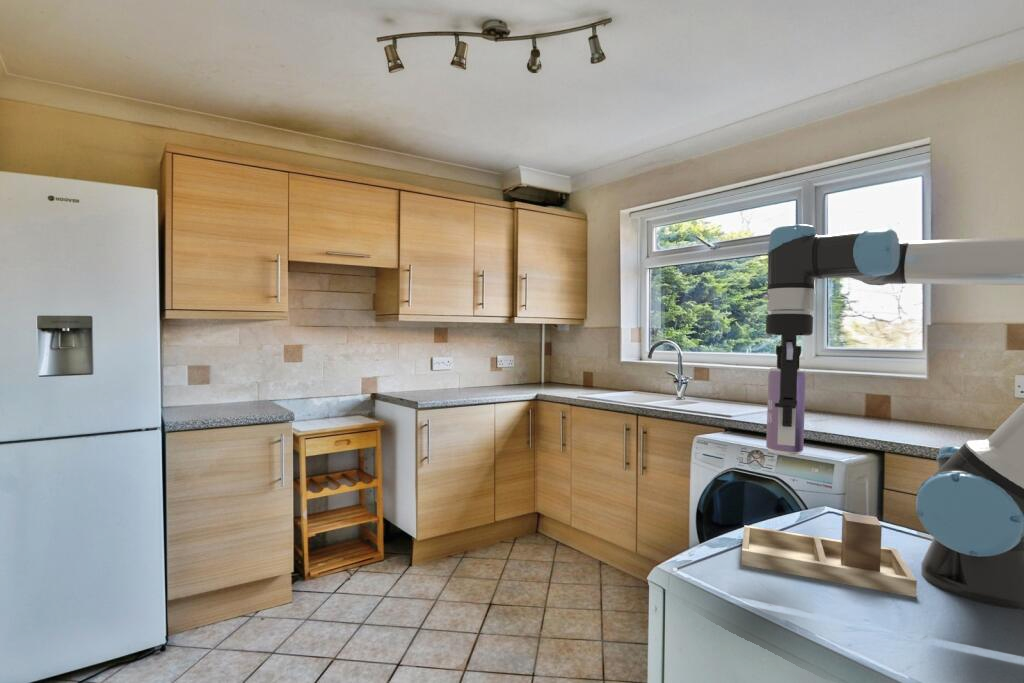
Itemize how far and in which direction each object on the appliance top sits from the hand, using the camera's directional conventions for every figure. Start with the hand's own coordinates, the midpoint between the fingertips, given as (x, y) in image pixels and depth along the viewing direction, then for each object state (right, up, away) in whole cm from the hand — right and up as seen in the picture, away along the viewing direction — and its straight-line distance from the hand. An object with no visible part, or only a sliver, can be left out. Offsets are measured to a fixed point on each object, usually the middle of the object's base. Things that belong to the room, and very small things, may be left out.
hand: (785, 441), depth 98 cm
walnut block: (+10, -21, -5) cm, 24 cm away
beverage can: (0, -2, 0) cm, 2 cm away
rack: (+5, -22, -2) cm, 23 cm away
